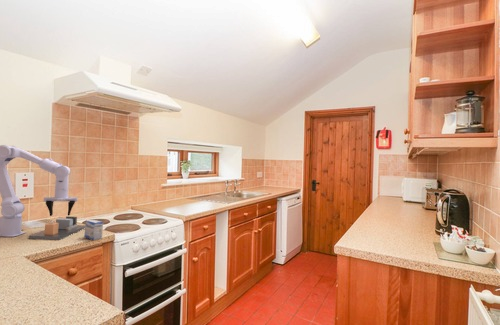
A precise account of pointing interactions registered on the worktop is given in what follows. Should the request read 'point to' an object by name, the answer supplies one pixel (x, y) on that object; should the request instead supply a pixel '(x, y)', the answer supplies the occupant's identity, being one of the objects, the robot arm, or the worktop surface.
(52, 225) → the housing block
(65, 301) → the worktop surface
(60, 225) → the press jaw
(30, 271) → the worktop surface
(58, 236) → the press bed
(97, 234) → the medicine box
